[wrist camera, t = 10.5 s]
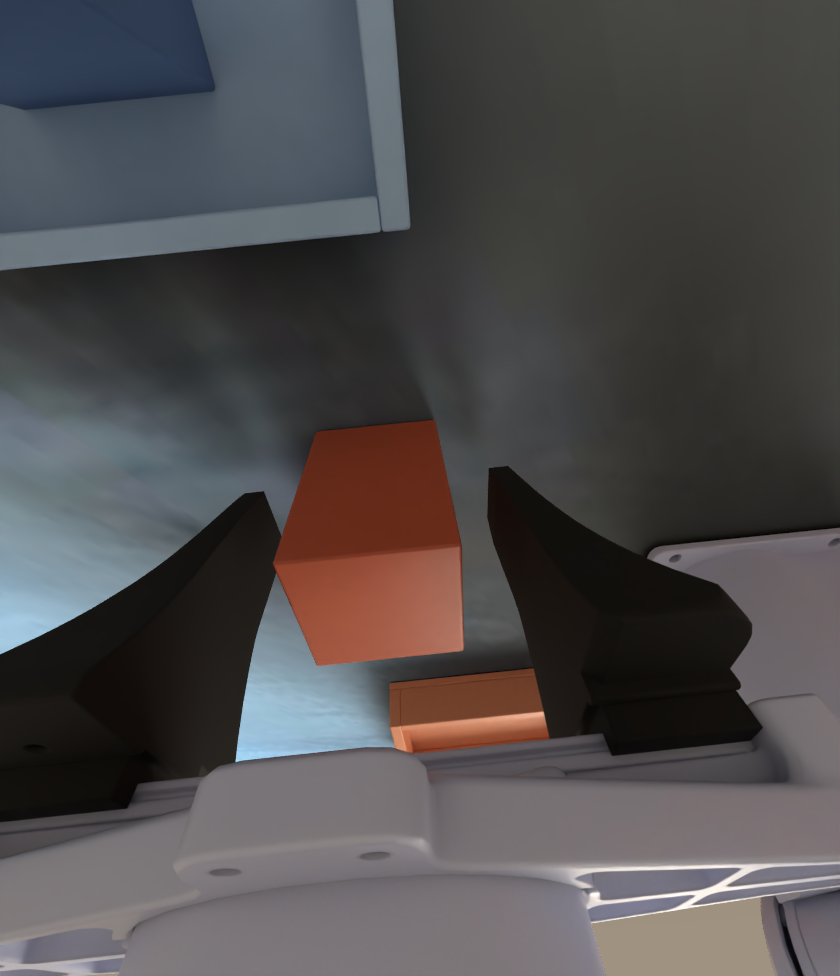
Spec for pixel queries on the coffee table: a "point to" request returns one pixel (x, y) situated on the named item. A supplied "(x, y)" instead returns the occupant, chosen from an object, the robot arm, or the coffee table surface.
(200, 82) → the blue block
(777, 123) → the coffee table surface
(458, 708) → the terracotta tray
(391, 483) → the terracotta block
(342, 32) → the blue tray
